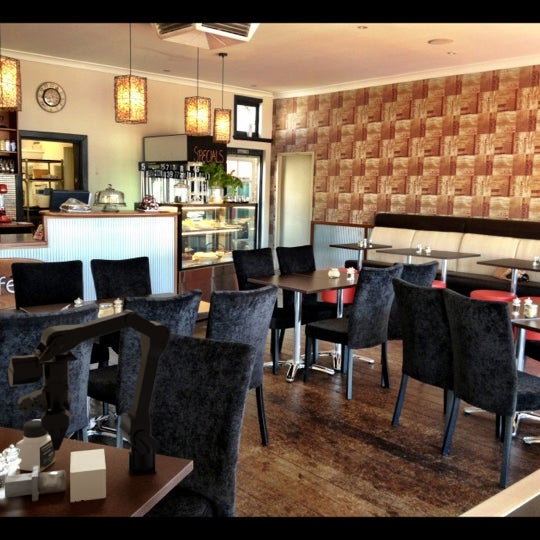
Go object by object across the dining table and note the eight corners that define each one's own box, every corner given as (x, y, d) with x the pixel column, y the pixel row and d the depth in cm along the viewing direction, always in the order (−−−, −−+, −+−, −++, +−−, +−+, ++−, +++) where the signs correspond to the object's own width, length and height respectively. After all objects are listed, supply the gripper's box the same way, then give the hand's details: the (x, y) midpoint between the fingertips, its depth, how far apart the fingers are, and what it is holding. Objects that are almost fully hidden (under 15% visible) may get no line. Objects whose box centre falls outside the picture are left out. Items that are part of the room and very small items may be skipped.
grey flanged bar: (65, 485, 144) (65, 462, 143) (64, 497, 138) (64, 472, 137) (7, 492, 140) (6, 468, 139) (4, 504, 134) (3, 480, 133)
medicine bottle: (40, 472, 150) (39, 428, 149) (16, 469, 152) (15, 425, 151) (55, 461, 157) (55, 418, 156) (32, 458, 159) (31, 415, 158)
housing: (104, 475, 149) (103, 448, 149) (105, 497, 138) (105, 468, 137) (71, 479, 147) (71, 452, 146) (70, 502, 136) (70, 472, 135)
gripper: (23, 371, 145) (24, 431, 146) (15, 394, 127) (17, 462, 129) (70, 368, 148) (71, 427, 150) (69, 390, 131) (70, 457, 132)
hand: (57, 442), depth 140 cm, fingers open, 9 cm apart
